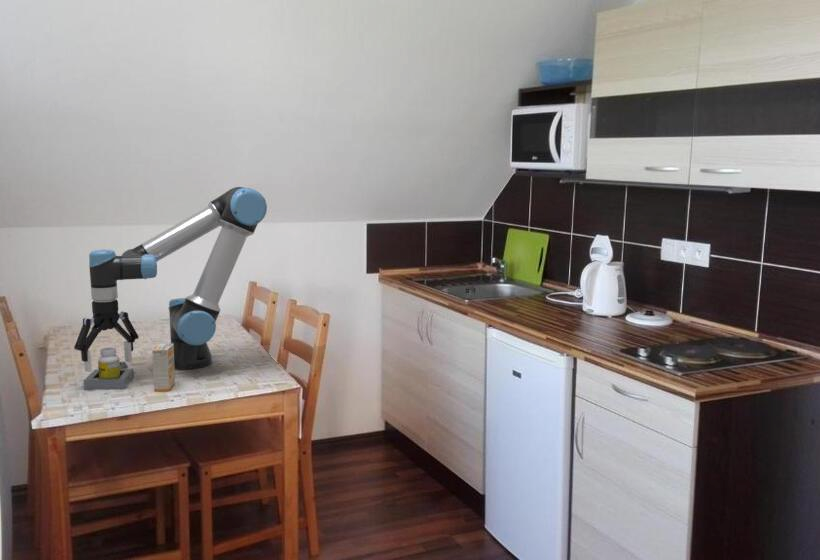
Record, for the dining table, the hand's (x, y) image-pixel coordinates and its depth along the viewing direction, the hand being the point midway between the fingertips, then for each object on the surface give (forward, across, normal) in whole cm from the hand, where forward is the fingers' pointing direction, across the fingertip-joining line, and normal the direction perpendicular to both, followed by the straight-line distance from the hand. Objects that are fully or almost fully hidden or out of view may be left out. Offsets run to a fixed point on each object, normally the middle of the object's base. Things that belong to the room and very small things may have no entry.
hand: (108, 366), depth 234 cm
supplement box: (+6, -8, +17) cm, 20 cm away
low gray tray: (+6, -3, -3) cm, 8 cm away
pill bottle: (+6, 0, 0) cm, 6 cm away
